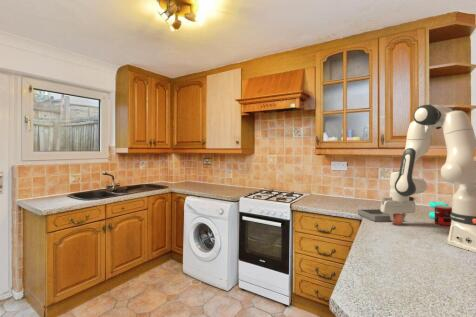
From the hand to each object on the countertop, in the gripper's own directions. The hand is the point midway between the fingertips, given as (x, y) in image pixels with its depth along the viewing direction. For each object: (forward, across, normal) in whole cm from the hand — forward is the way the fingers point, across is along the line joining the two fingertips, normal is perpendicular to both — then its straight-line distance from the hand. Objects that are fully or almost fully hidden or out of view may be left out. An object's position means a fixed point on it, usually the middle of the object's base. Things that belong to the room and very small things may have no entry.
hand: (397, 220), depth 151 cm
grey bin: (+2, -2, +14) cm, 14 cm away
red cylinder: (+2, 0, 0) cm, 2 cm away
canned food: (+2, +27, -3) cm, 27 cm away
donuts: (+2, +38, +11) cm, 40 cm away
